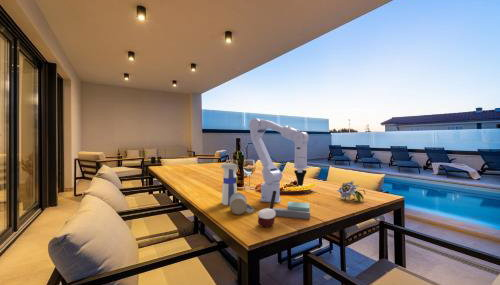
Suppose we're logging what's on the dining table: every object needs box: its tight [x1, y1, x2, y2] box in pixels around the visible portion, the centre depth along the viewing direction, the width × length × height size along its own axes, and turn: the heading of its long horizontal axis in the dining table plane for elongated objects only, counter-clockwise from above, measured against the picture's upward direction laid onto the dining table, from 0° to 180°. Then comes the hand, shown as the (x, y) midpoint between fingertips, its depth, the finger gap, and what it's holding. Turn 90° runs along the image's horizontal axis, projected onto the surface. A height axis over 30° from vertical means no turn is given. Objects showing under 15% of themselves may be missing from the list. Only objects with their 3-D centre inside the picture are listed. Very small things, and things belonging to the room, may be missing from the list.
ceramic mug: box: [229, 192, 255, 216], centre depth 97 cm, size 11×8×8 cm
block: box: [286, 201, 311, 211], centre depth 96 cm, size 9×7×4 cm
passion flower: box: [336, 180, 366, 203], centre depth 119 cm, size 11×11×12 cm
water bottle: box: [221, 152, 239, 206], centre depth 110 cm, size 8×9×25 cm
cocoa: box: [257, 191, 276, 228], centre depth 82 cm, size 10×6×12 cm, turn 113°
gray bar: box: [273, 207, 311, 220], centre depth 92 cm, size 15×2×2 cm, turn 76°
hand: (300, 185), depth 106 cm, fingers closed
